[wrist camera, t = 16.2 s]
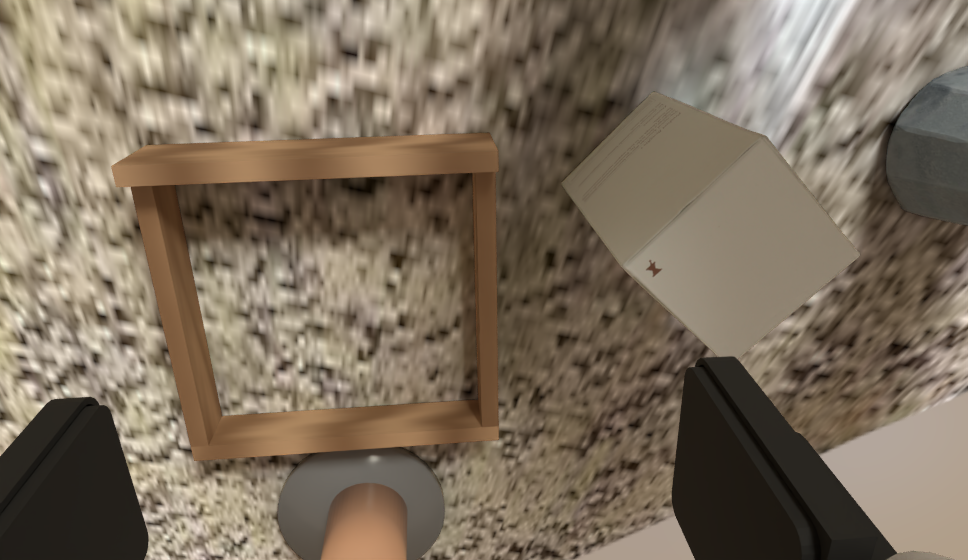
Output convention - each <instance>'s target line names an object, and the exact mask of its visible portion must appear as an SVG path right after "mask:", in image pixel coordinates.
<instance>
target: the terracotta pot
mask: <svg viewBox="0 0 968 560" xmlns="http://www.w3.org/2000/svg"><path fill="white" fill-rule="evenodd" d="M407 515H408V511H407V506H406V503H405V501H404V499H403V498H402V497H401V496H400V495H399V494H398V493H397V492H396V491H395V490H393V489H391V488H390V487H387V486H385V485H381V484H377V483H361V484H356V485H353V486H350V487H348V488H346V489H344V490H342V491H341V492H340V493H339V494H337V496H336V497H335V498H334V499H333V501H332V503H331V505H330V508H329V513H328V519H327V525H326V531H325V537H324V543H323V549H322V555H321V560H407Z"/></svg>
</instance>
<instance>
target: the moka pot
mask: <svg viewBox="0 0 968 560" xmlns="http://www.w3.org/2000/svg"><path fill="white" fill-rule="evenodd" d="M886 173H887V179H888V183H889V186H890V187H891V189H892V191H893V193H894V195H895V197H896V199H897V200H898V202H899V204H900V206H901V208H902V209H903V210H905V211H908V212H911V213H914V214H918V215H920V216H925V217H929V218H934V219H938V220H942V221H947V222H951V223H956V224H962V225H968V66H966V67H962V68H959V69H957V70H954V71H951V72H948V73H945V74H943V75H941V76H940V77H938V78H935V79H933V80H932V81H931V82H930V83H928V84H927V85H926V86H925V87H924V88H923V89H921V90H920V91H919V93H918V94H917V95H916V96H915V97H914V98H913V99H912V100H911V102H910V103H909V105H908V106H907V107H906V109H905V110H904V111H903V112H902V113H901V115H900V116H899V118H898V119H897V122H896V124H895V126H894V128H893V131H892V134H891V137H890V139H889V143H888V147H887V157H886Z"/></svg>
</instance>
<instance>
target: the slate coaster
mask: <svg viewBox="0 0 968 560" xmlns="http://www.w3.org/2000/svg"><path fill="white" fill-rule="evenodd" d="M361 483H377V484H381V485H385V486H387V487H390V488H391V489H393V490H395V491H396V492H397V493H398V494H399V495H400V496H401V497H402V498H403V499H404V501H405V503H406V506H407V511H408V515H407V560H417V559H419V558H420V557H421V556H423V555H424V554H425V553H426V552H427V551H428V550H429V549H430V548H431V546H432V545H433V544H434V542H435V541H436V539H437V538H438V536H439V534H440V532H441V529H442V526H443V522H444V512H445V507H444V496H443V491H442V488H441V484H440V482H439V480H438V478H437V476H436V475H435V474H434V472H433V471H432V469H431V468H430V467H429V466H428V465H427V464H426V463H425V462H424V461H423V460H421V459H420V458H419V457H418V456H416V455H414V454H413V453H411V452H409V451H408V450H405V449H403V448H401V447H389V448H375V449H360V450H346V451H331V452H317V453H312V454H311V455H309V456H308V457H306V458H305V459H304V460H302V461H301V462H300V463H299V464H298V465H297V466H296V467H295V468H294V469H293V470H292V472H291V473H290V475H289V476H288V478H287V479H286V481H285V484H284V486H283V488H282V492H281V496H280V500H279V504H278V522H279V526H280V530H281V532H282V534H283V537H284V539H285V540H286V542H287V543H288V545H289V546H290V547H291V548H292V549H293V551H294V552H295V553H296V554H298V555H299V556H300V557H301V558H302V559H304V560H321V555H322V549H323V543H324V537H325V531H326V525H327V519H328V513H329V508H330V505H331V503H332V501H333V499H334V498H335V497H336V496H337V494H339V493H340V492H341V491H342V490H344V489H346V488H348V487H350V486H353V485H356V484H361Z"/></svg>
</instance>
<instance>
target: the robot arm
mask: <svg viewBox="0 0 968 560" xmlns="http://www.w3.org/2000/svg"><path fill="white" fill-rule="evenodd" d="M672 504H673V509H674V513H675V516H676V518H677V520H678V523H679V525H680V527H681V529H682V532H683V534H684V536H685V538H686V541H687V543H688V545H689V547H690V549H691V552H692V554H693V556H694V558H695V560H954V559H952V558H948V557H945V556H941V555H938V554H934V553H929V552H917V551H910V552H903V553H897V552H896V551H895V550H894V549H893V547H892V546H891V545H890V544H889V542H888V541H887V540H886V539H885V538H884V536H883V535H882V534H881V532H880V531H879V530H878V529H877V527H876V526H875V525H874V524H873V523H872V521H871V520H870V519H869V517H868V516H867V515H866V514H865V512H864V511H863V510H862V509H861V507H860V506H859V505H858V504H857V503H856V501H855V500H854V499H853V498H852V497H851V495H850V494H849V493H848V491H847V490H846V489H845V487H844V486H843V485H842V484H841V482H840V481H839V480H838V479H837V478H836V476H835V475H834V474H833V472H832V471H831V470H830V469H829V468H828V466H827V465H826V464H825V463H824V461H823V460H822V459H821V458H820V456H819V455H818V454H817V453H816V451H815V450H814V449H813V448H812V446H811V445H810V444H809V443H808V441H807V440H806V439H805V438H804V437H803V436H802V435H801V434H800V433H797V432H795V431H794V430H793V429H792V427H791V426H790V425H789V424H788V422H787V421H786V420H785V418H784V417H783V416H782V415H781V413H780V412H779V411H778V410H777V408H776V407H775V406H774V405H773V403H772V402H771V401H770V400H769V398H768V397H767V396H766V394H765V393H764V392H763V391H762V389H761V388H760V387H759V386H758V384H757V383H756V382H755V381H754V379H753V378H752V377H751V375H750V374H749V373H748V372H747V370H746V369H745V368H744V367H743V365H742V364H741V363H740V362H739V360H738V359H737V358H736V357H733V356H726V357H710V358H700V359H698V360H697V362H696V365H695V367H690V368H688V369H687V370H686V372H685V378H684V387H683V396H682V405H681V414H680V423H679V432H678V441H677V450H676V459H675V468H674V477H673V486H672ZM147 549H148V532H147V528H146V525H145V522H144V518H143V515H142V512H141V509H140V505H139V502H138V499H137V496H136V492H135V489H134V486H133V483H132V479H131V476H130V473H129V470H128V466H127V463H126V460H125V457H124V453H123V450H122V447H121V444H120V440H119V437H118V434H117V431H116V427H115V424H114V421H113V418H112V414H111V412H110V410H109V408H108V407H107V406H104V405H99V403H98V402H97V401H96V399H95V398H92V397H82V398H66V399H54V400H51V401H49V402H48V403H47V404H46V405H45V406H44V407H43V408H42V410H41V411H40V412H39V413H38V414H37V415H36V416H35V418H34V419H33V420H32V421H31V422H30V423H29V424H28V426H27V427H26V428H25V429H24V430H23V431H22V432H21V433H20V435H19V436H18V437H17V438H16V439H15V440H14V441H13V443H12V444H11V445H10V446H9V447H8V448H7V449H6V451H5V452H4V453H3V454H2V455H1V456H0V560H144V559H145V556H146V553H147Z"/></svg>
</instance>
